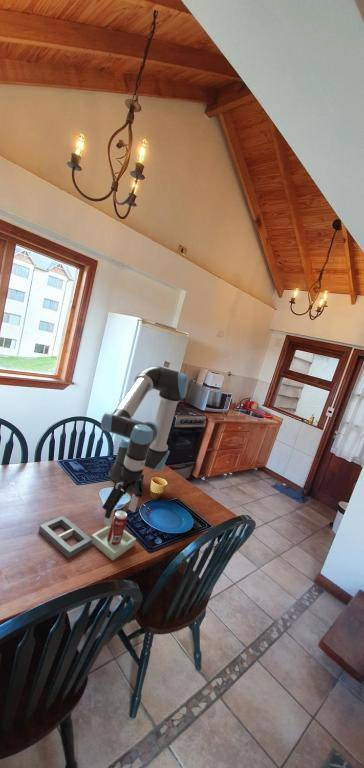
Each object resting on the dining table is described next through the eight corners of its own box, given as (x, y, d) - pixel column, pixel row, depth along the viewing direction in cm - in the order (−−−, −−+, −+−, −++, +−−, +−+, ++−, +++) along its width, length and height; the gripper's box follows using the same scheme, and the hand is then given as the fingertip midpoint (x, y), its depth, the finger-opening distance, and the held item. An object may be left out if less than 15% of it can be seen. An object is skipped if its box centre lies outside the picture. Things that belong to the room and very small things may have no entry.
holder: (38, 531, 113) (39, 525, 113) (61, 520, 122) (62, 515, 121) (68, 558, 105) (69, 552, 105) (90, 545, 114) (92, 539, 113)
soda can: (108, 535, 120) (115, 508, 118) (121, 538, 121) (128, 511, 119) (105, 544, 115) (113, 516, 113) (119, 547, 116) (127, 519, 114)
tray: (89, 541, 115) (91, 534, 115) (112, 528, 126) (114, 522, 125) (112, 560, 110) (114, 553, 109) (134, 545, 120) (136, 538, 119)
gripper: (117, 481, 100) (102, 537, 104) (160, 463, 121) (147, 510, 125) (101, 470, 103) (87, 525, 107) (146, 454, 125) (133, 500, 129)
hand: (119, 517), depth 116 cm, fingers open, 13 cm apart
